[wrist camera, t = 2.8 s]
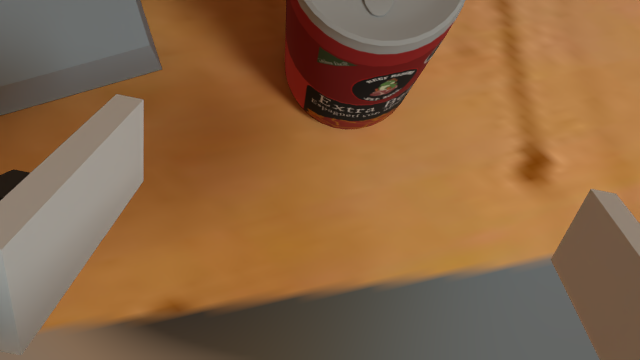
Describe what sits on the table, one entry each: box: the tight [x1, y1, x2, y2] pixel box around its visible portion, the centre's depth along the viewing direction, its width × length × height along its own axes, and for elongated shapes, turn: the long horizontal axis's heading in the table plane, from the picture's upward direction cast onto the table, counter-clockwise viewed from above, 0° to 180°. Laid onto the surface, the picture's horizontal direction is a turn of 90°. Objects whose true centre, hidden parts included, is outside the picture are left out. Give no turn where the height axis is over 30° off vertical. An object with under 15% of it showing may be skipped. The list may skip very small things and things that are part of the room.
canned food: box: [285, 0, 465, 129], centre depth 26 cm, size 8×8×11 cm
